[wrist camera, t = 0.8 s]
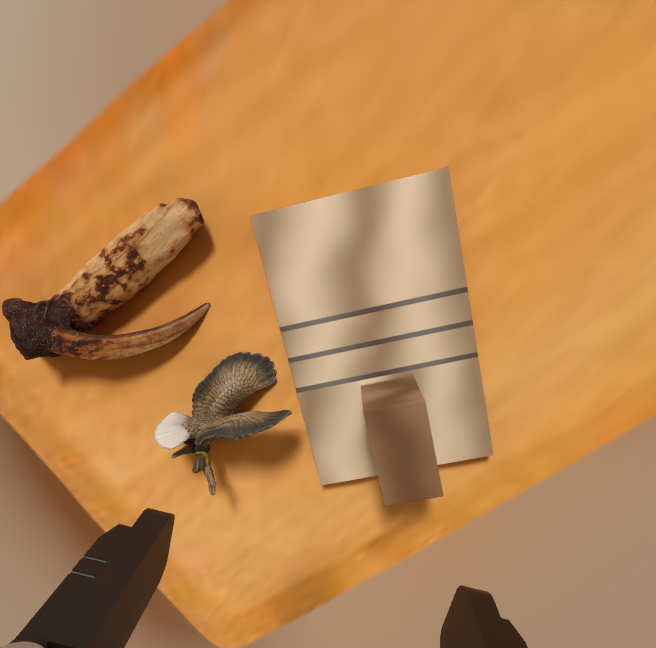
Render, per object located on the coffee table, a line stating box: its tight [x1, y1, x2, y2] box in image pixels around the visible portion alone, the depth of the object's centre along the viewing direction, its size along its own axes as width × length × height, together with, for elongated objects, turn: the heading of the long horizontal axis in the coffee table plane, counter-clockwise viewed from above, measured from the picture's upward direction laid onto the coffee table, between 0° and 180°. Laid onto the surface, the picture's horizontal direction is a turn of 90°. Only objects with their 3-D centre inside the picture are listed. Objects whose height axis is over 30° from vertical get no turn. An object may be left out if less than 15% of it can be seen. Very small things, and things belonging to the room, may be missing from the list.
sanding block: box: [361, 374, 443, 506], centre depth 28 cm, size 4×7×5 cm, turn 13°
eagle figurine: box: [154, 352, 292, 495], centre depth 29 cm, size 8×7×9 cm
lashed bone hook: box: [2, 198, 210, 360], centre depth 28 cm, size 9×5×18 cm
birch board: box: [251, 167, 493, 485], centre depth 30 cm, size 14×22×1 cm, turn 13°
